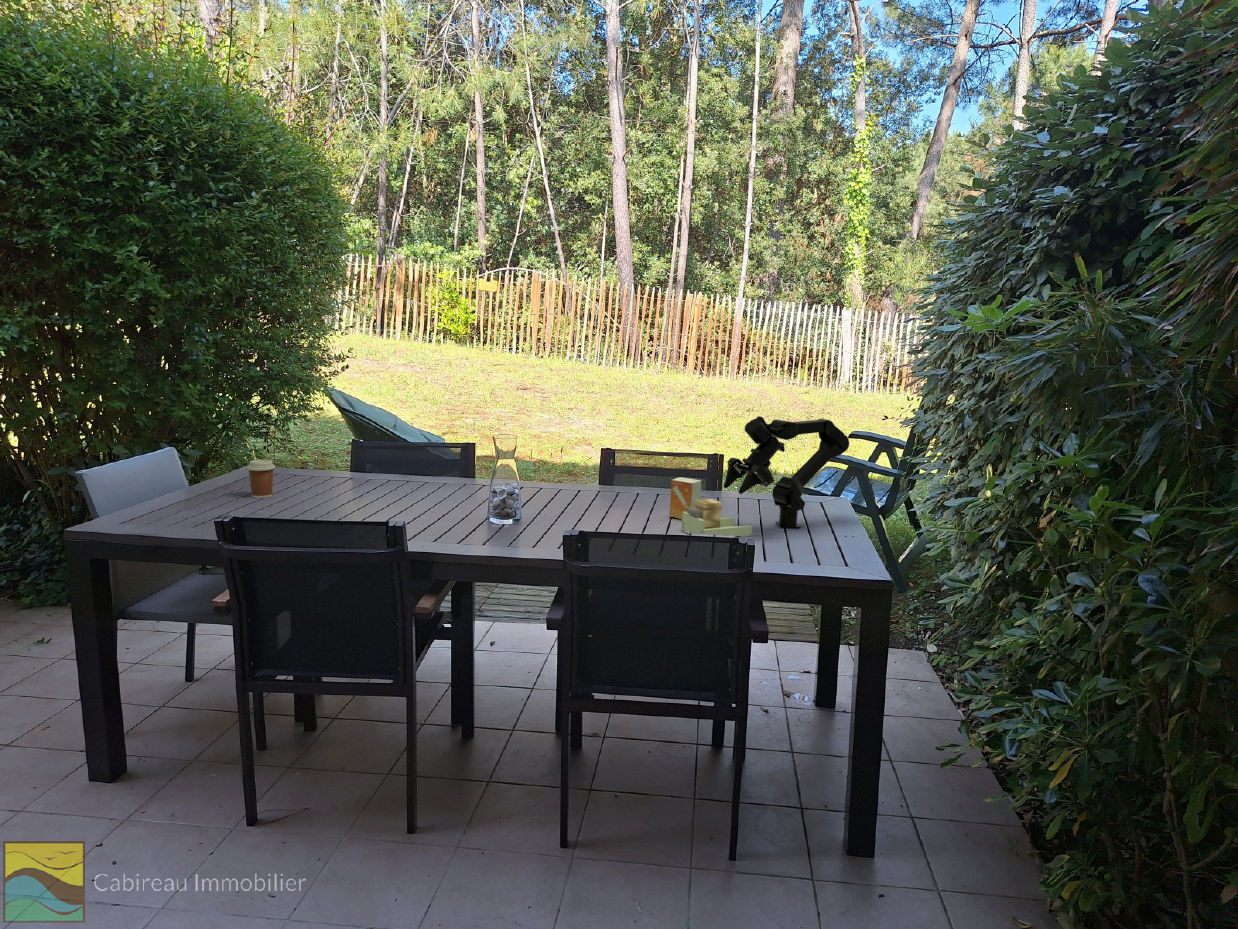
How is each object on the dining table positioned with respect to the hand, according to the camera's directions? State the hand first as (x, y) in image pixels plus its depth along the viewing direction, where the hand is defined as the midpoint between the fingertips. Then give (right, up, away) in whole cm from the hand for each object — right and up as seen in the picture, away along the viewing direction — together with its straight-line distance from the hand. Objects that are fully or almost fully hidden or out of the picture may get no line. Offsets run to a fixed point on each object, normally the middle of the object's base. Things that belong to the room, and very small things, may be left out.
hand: (732, 490), depth 273 cm
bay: (-5, -13, 0) cm, 14 cm away
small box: (-13, -10, +18) cm, 25 cm away
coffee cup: (-157, -3, +28) cm, 159 cm away
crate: (-8, -13, -1) cm, 16 cm away
